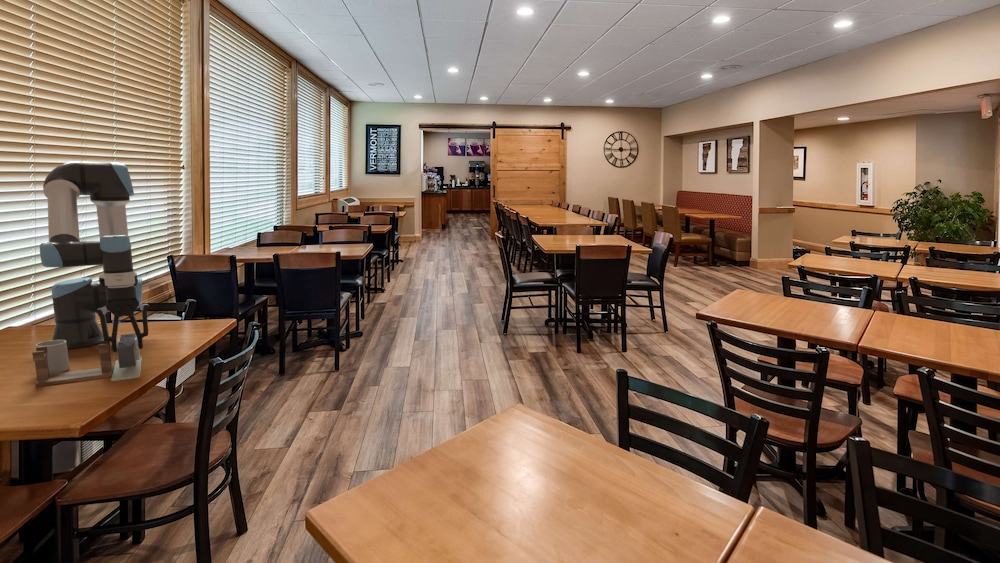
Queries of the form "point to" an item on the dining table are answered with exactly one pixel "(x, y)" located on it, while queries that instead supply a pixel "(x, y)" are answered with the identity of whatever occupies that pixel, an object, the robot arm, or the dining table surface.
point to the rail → (127, 351)
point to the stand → (72, 376)
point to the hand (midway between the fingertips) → (129, 360)
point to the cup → (56, 355)
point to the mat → (126, 371)
